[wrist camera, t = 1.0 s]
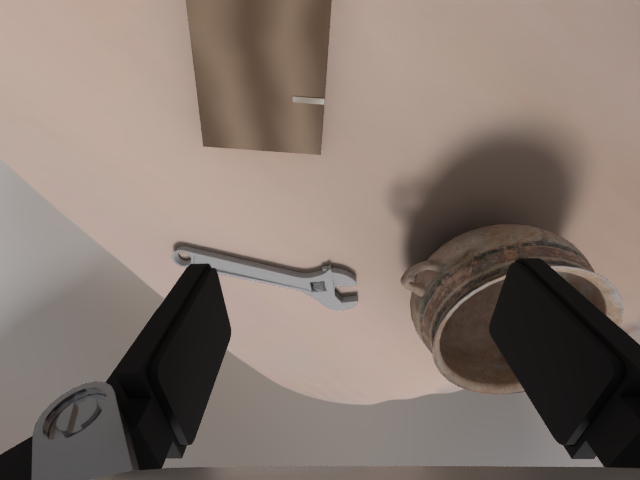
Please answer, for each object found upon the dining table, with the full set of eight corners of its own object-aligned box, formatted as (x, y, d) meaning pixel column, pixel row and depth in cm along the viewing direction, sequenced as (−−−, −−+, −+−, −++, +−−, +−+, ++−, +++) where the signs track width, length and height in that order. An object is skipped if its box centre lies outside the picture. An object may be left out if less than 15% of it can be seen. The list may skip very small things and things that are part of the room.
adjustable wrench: (176, 258, 41) (170, 265, 39) (181, 217, 38) (175, 223, 36) (349, 307, 44) (350, 315, 43) (366, 273, 41) (368, 281, 40)
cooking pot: (354, 289, 42) (365, 363, 31) (430, 166, 33) (479, 212, 23) (498, 340, 47) (550, 420, 36) (598, 244, 38) (704, 311, 27)
